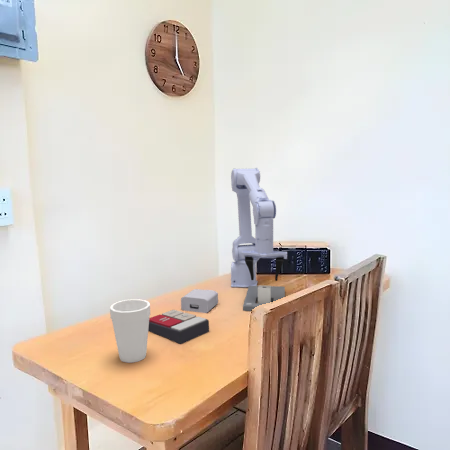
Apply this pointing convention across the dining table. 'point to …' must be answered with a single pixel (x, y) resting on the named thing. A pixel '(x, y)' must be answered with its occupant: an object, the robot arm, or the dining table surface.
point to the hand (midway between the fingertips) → (264, 279)
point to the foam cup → (131, 328)
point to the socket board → (252, 296)
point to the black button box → (178, 326)
